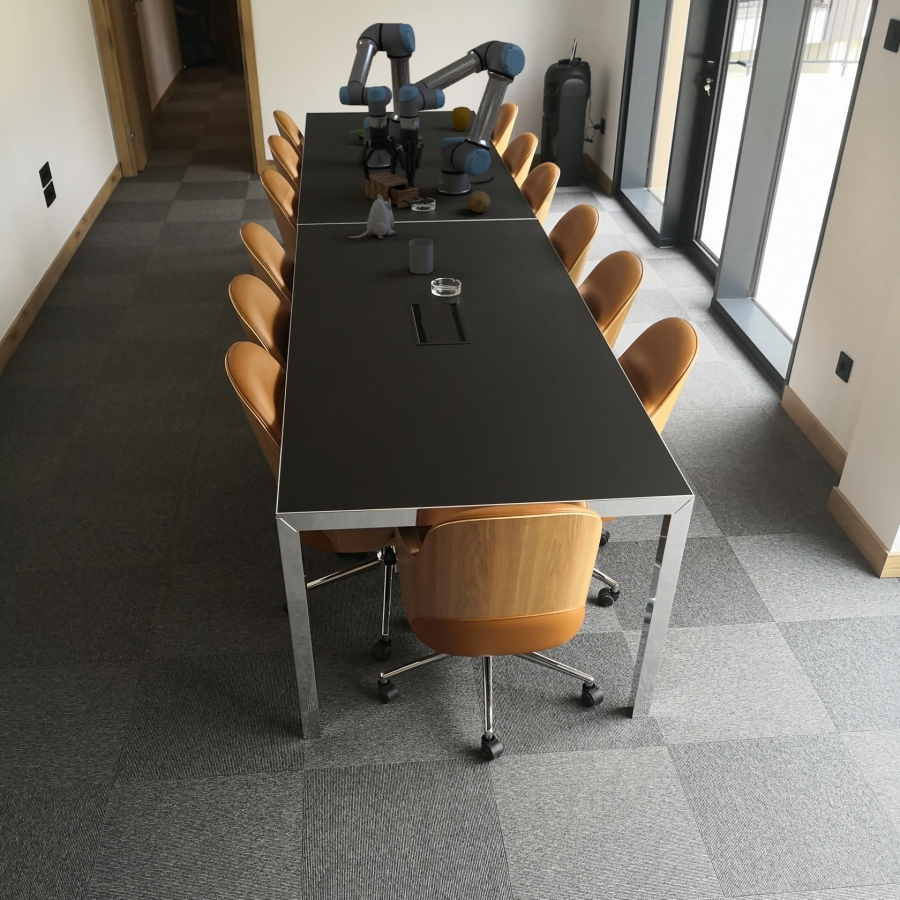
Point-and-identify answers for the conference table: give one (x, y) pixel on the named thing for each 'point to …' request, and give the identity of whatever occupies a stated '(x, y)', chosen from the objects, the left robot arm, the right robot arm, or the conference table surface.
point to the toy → (379, 219)
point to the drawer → (404, 195)
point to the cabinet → (382, 185)
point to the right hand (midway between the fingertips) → (410, 186)
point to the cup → (421, 256)
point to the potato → (478, 201)
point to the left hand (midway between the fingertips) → (380, 176)
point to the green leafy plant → (361, 137)
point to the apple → (461, 118)
